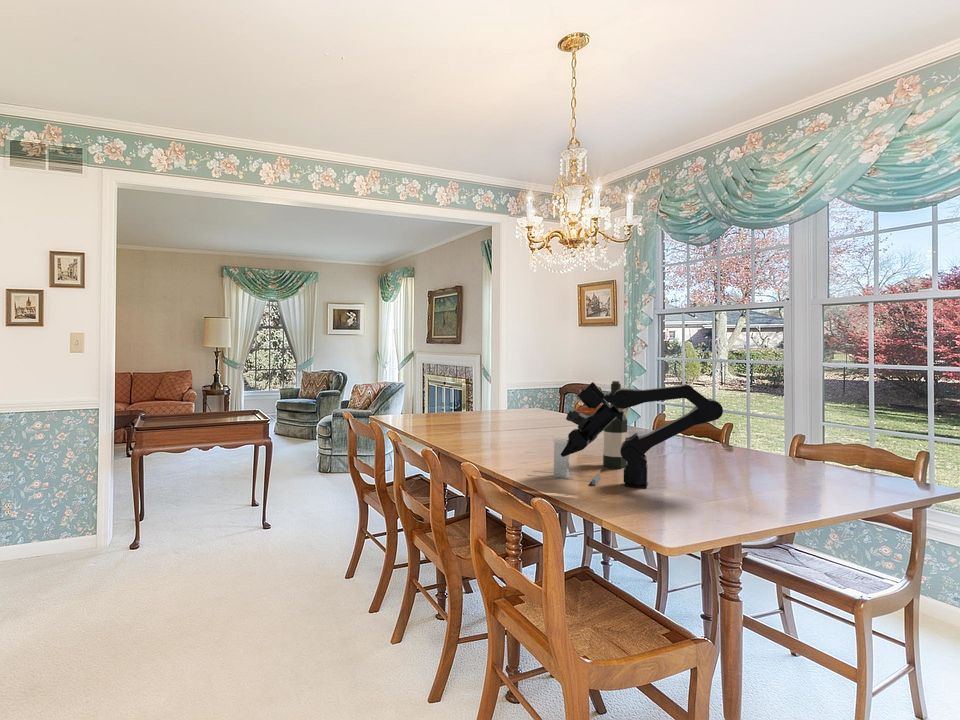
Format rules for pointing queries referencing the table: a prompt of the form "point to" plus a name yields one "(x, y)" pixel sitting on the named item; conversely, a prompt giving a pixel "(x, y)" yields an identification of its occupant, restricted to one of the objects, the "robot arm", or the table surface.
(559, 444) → the post
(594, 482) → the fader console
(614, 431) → the wine bottle
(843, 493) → the table surface
